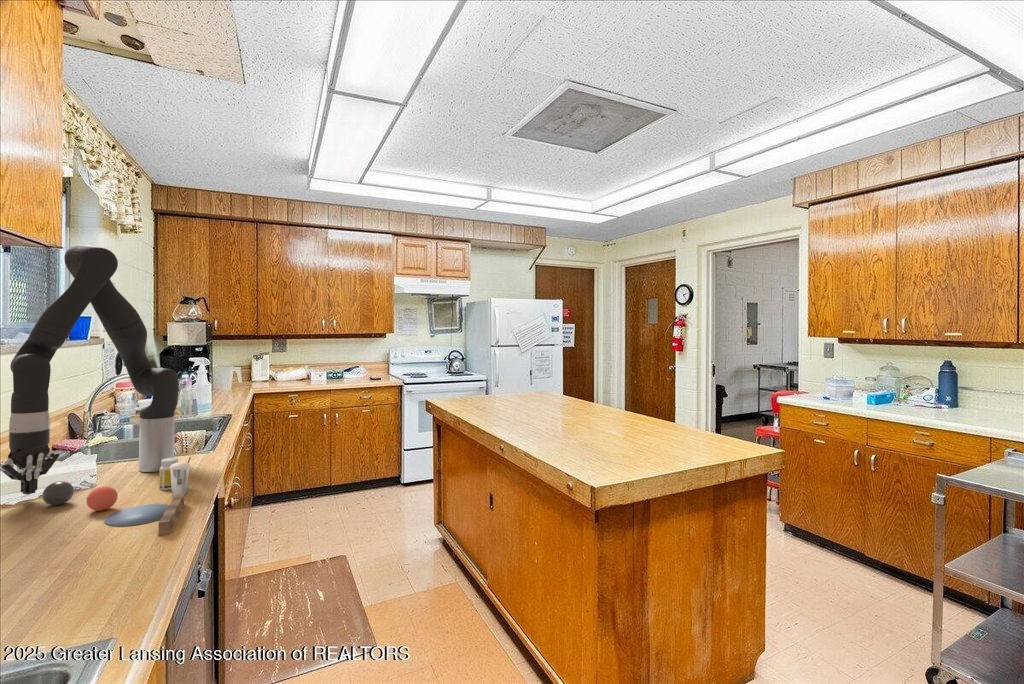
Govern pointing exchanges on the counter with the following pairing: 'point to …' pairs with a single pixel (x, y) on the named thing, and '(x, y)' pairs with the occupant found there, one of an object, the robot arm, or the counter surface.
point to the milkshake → (179, 477)
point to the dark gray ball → (58, 493)
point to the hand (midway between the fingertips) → (29, 493)
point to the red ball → (102, 498)
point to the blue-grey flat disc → (137, 515)
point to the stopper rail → (171, 514)
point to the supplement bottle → (166, 473)
